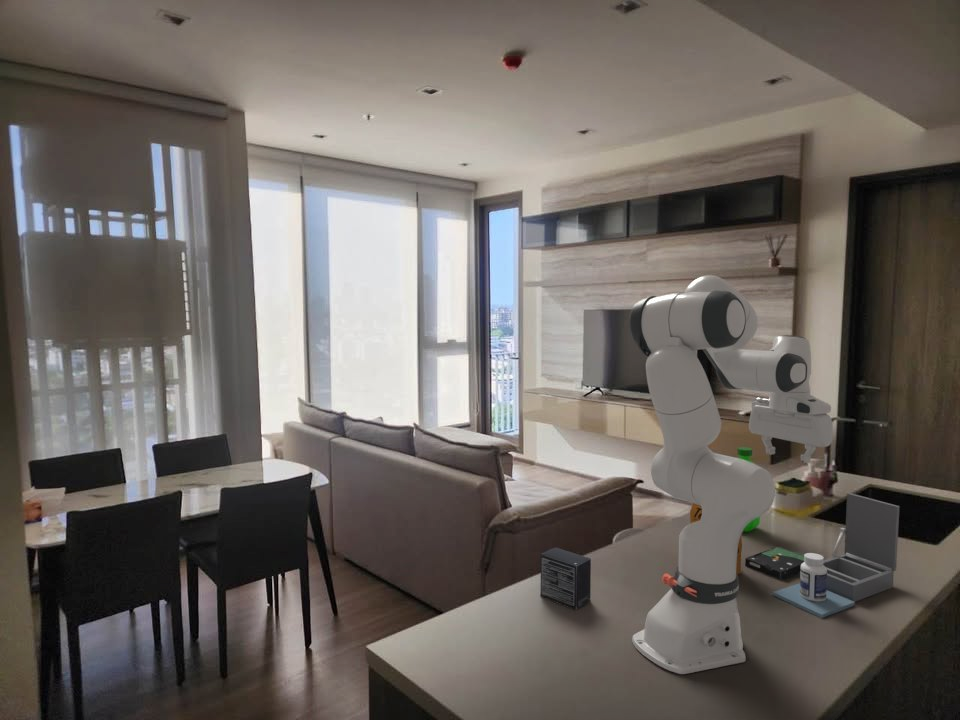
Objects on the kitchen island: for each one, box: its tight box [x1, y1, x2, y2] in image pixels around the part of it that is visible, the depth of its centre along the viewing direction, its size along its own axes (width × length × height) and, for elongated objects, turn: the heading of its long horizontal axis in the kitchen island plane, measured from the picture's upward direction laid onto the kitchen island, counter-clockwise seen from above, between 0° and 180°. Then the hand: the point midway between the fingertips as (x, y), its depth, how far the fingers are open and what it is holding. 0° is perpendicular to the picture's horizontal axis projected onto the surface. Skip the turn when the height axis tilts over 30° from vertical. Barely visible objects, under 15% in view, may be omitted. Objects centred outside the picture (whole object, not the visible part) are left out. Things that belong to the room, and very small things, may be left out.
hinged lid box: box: [823, 492, 900, 603], centre depth 148 cm, size 17×13×20 cm
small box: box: [539, 547, 592, 611], centre depth 142 cm, size 11×6×10 cm, turn 47°
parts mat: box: [772, 582, 856, 619], centre depth 141 cm, size 12×12×1 cm
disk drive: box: [744, 546, 805, 581], centre depth 159 cm, size 10×3×15 cm
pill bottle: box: [799, 552, 827, 602], centre depth 140 cm, size 5×5×10 cm
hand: (787, 457), depth 148 cm, fingers open, 8 cm apart
